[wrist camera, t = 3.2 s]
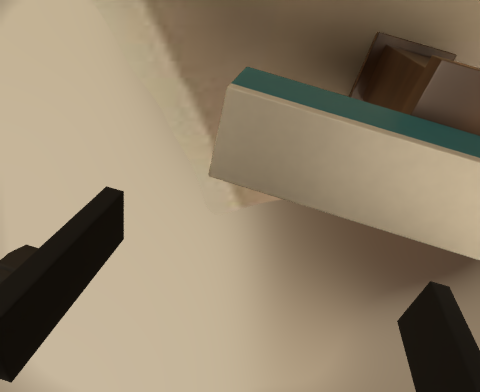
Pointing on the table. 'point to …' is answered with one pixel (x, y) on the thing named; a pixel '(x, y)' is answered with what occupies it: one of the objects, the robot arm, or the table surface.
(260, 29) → the table surface
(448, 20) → the table surface
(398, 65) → the shelf stand
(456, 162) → the long rectangular block
